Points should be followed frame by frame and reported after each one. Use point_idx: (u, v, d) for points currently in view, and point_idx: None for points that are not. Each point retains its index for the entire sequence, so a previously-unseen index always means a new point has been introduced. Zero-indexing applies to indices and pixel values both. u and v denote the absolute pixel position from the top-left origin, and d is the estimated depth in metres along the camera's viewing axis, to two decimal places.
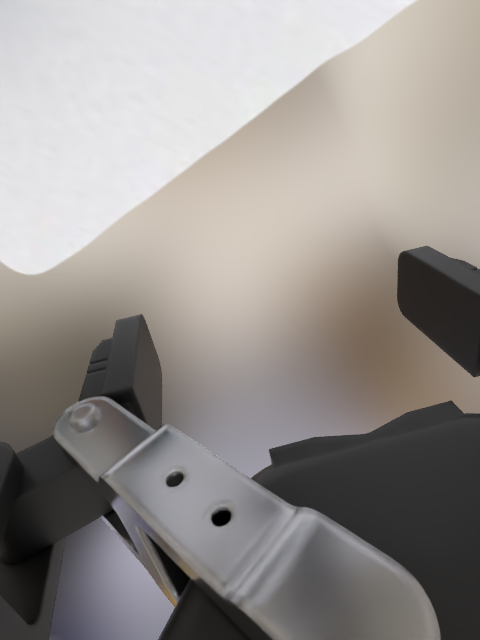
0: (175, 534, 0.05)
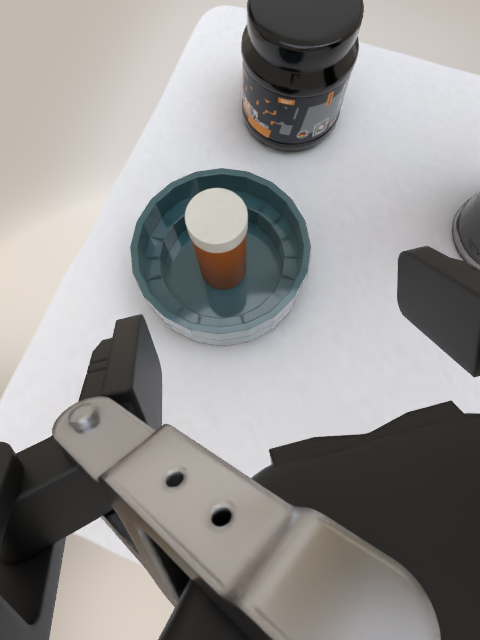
0: (175, 534, 0.05)
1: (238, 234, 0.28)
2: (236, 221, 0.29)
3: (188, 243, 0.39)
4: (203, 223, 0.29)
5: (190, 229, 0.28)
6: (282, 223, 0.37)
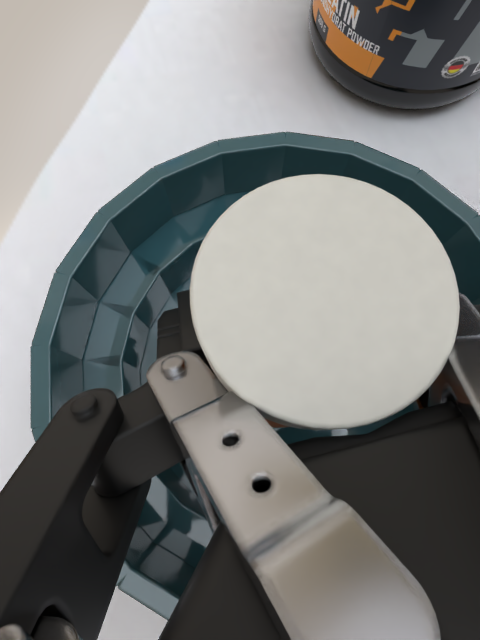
0: (218, 487, 0.05)
1: (429, 380, 0.06)
2: (415, 319, 0.07)
3: None
4: (271, 325, 0.07)
5: (215, 352, 0.06)
6: None
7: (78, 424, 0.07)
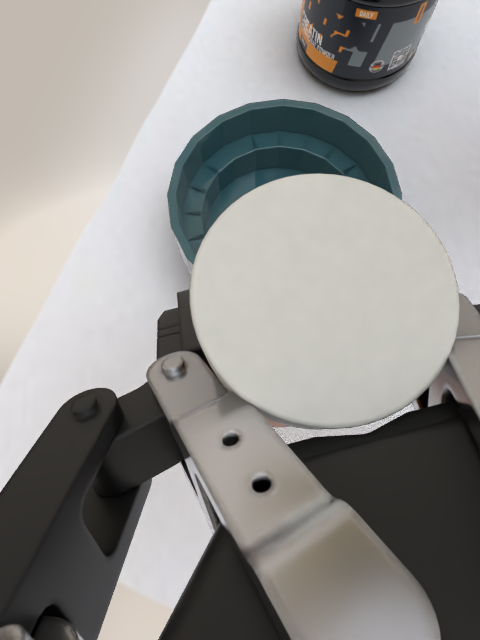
0: (218, 486, 0.05)
1: (429, 379, 0.06)
2: (415, 318, 0.07)
3: (233, 200, 0.31)
4: (271, 325, 0.07)
5: (214, 352, 0.06)
6: (356, 172, 0.29)
7: (78, 424, 0.07)
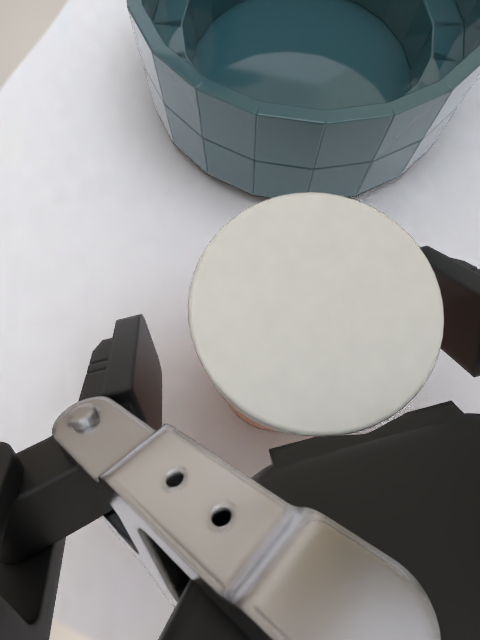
0: (175, 534, 0.05)
1: (414, 390, 0.07)
2: (401, 331, 0.07)
3: (233, 31, 0.21)
4: (265, 338, 0.07)
5: (212, 363, 0.07)
6: None
7: None
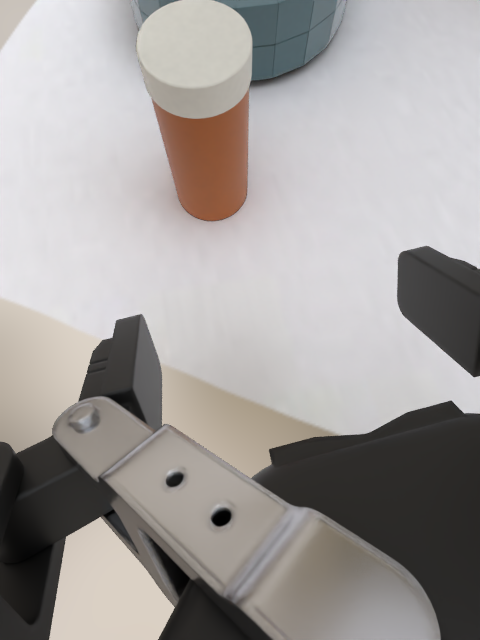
0: (175, 534, 0.05)
1: (233, 71, 0.15)
2: (231, 50, 0.15)
3: None
4: (169, 53, 0.15)
5: (145, 62, 0.15)
6: None
7: None
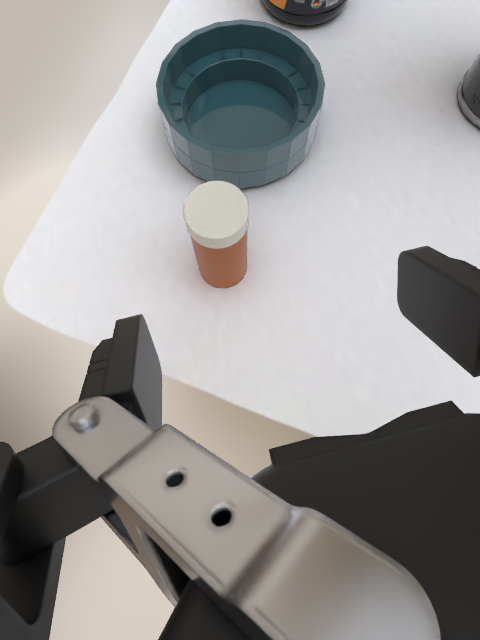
0: (175, 534, 0.05)
1: (238, 228, 0.27)
2: (237, 215, 0.27)
3: (207, 102, 0.41)
4: (202, 217, 0.27)
5: (189, 223, 0.27)
6: (297, 76, 0.39)
7: None
